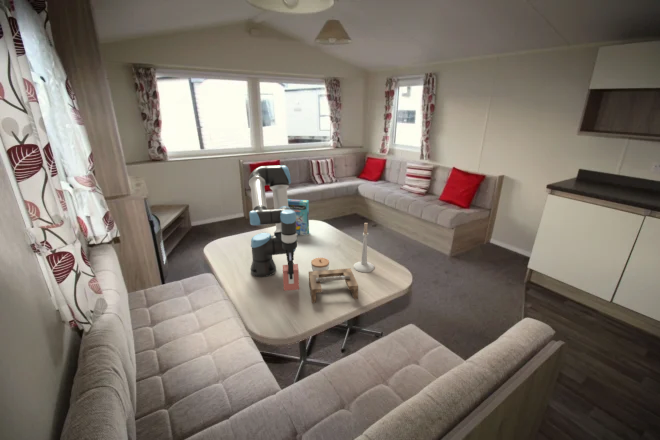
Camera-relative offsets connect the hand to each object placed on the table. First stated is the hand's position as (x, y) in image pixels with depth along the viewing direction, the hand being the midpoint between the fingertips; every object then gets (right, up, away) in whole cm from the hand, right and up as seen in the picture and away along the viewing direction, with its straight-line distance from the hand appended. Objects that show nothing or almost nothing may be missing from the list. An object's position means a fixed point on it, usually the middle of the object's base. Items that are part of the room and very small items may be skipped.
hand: (291, 279), depth 162 cm
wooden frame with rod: (+22, -7, +5) cm, 24 cm away
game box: (-6, +21, +80) cm, 83 cm away
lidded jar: (+15, -1, +23) cm, 27 cm away
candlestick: (+42, +2, +30) cm, 52 cm away
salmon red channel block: (0, -4, +2) cm, 4 cm away
